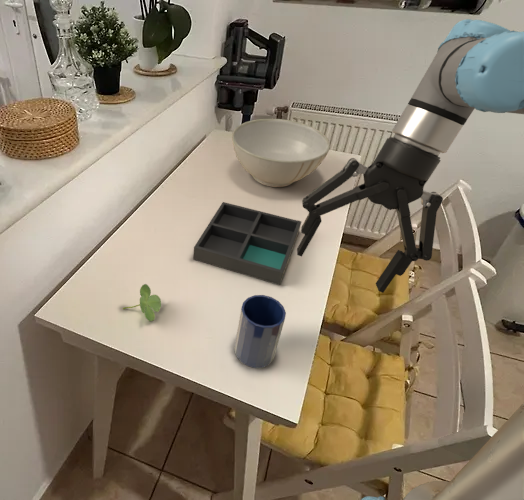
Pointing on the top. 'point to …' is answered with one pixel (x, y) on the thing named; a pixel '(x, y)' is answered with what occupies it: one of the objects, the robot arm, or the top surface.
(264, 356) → the cup
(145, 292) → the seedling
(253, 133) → the decorative bowl
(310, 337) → the top surface
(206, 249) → the tray
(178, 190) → the top surface
